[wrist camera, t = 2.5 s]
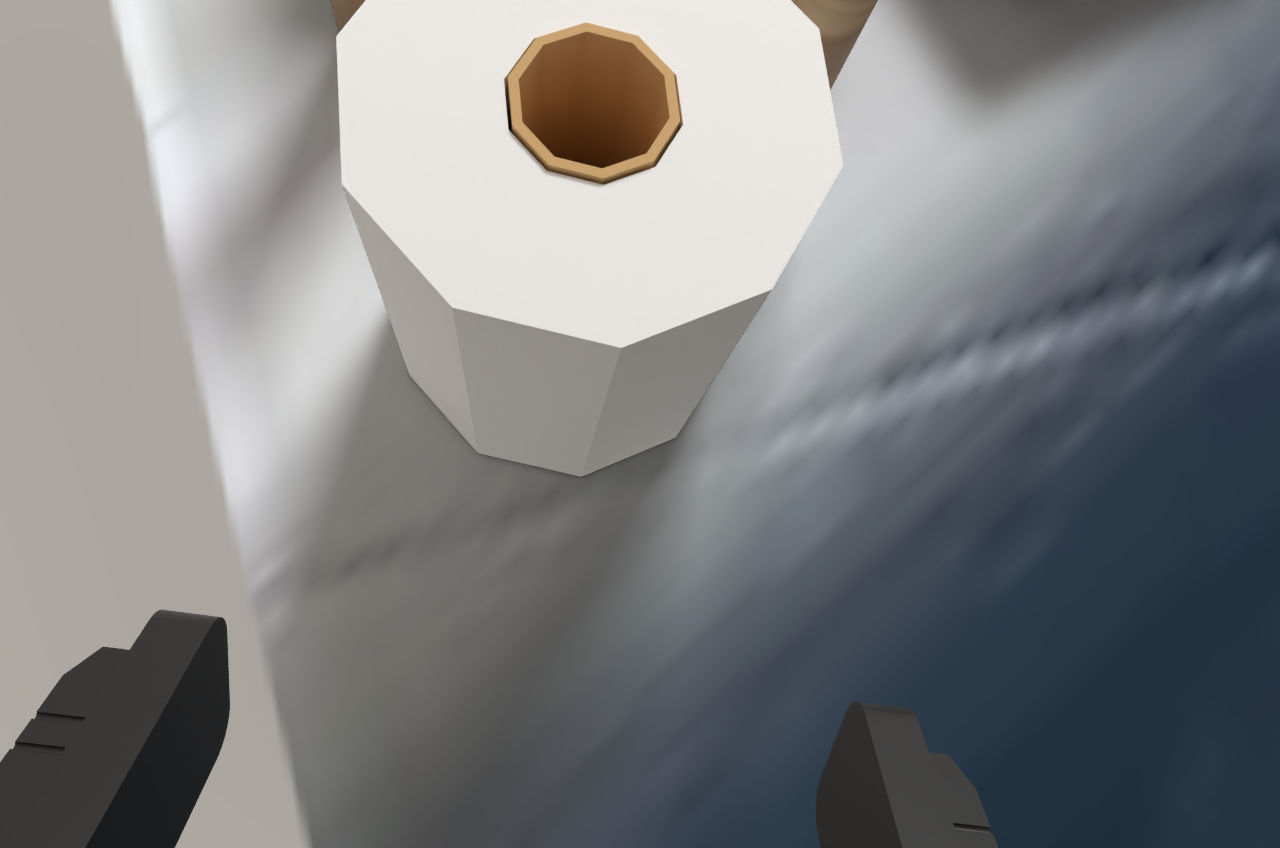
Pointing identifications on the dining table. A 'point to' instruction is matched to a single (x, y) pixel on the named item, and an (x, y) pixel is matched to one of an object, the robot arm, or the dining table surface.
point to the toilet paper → (579, 202)
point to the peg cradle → (830, 3)
